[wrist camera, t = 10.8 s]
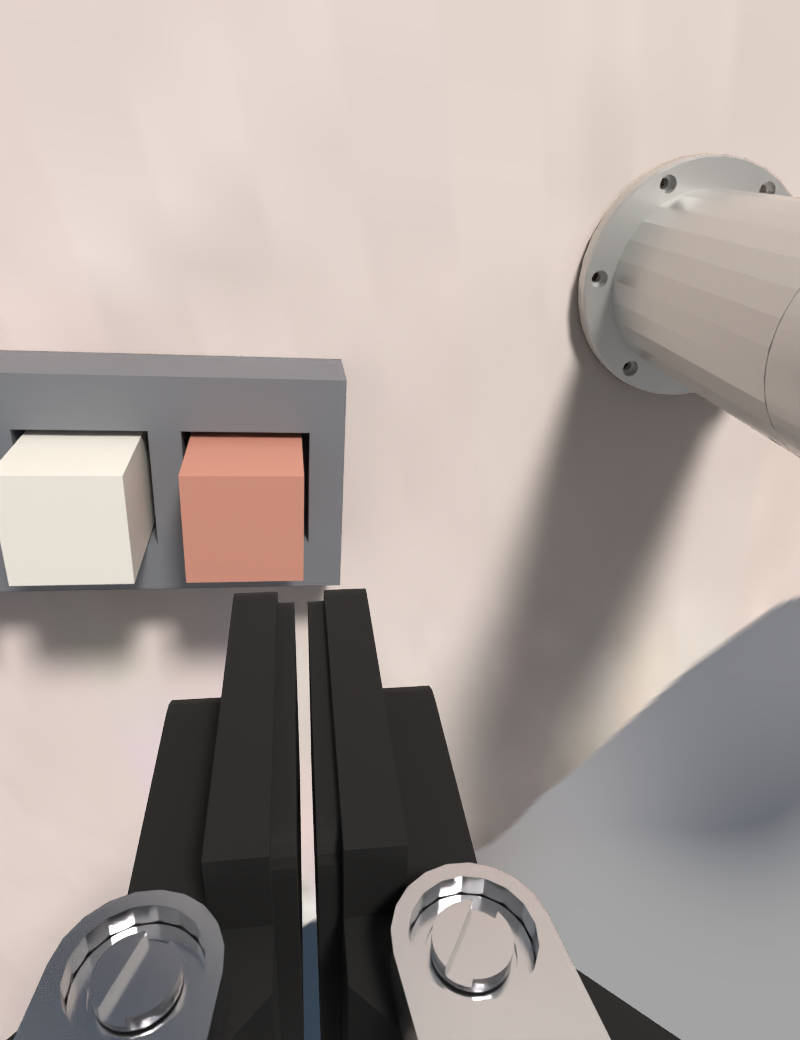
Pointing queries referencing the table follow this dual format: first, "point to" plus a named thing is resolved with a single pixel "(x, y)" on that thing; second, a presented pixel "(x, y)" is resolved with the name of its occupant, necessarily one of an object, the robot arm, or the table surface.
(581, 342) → the table surface
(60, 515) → the key ivory
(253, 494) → the key brick
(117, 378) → the console
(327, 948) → the robot arm
